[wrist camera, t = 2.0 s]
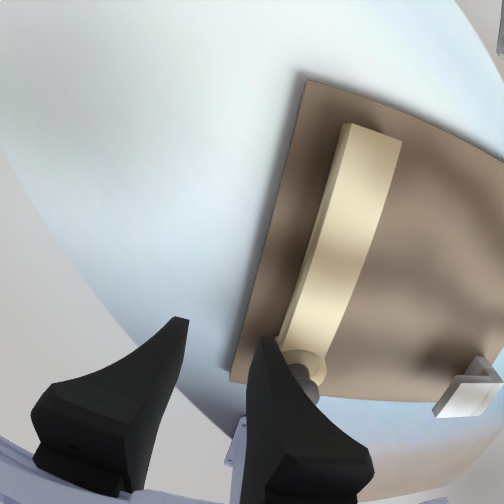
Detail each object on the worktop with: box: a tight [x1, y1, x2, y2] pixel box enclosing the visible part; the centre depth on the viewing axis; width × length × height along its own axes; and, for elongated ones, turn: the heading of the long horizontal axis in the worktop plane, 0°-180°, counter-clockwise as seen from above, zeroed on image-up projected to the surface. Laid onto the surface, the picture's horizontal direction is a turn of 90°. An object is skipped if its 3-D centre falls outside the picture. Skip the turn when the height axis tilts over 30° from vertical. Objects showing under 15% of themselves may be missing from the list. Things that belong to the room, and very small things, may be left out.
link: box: [274, 123, 402, 405], centre depth 18 cm, size 18×4×4 cm, turn 167°
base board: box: [229, 80, 504, 418], centre depth 20 cm, size 22×25×5 cm
